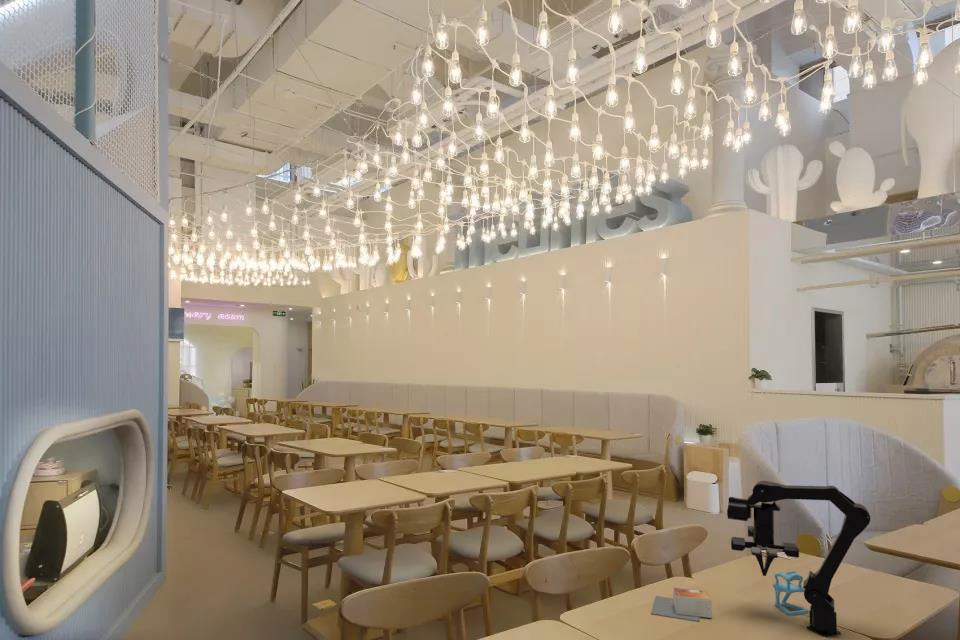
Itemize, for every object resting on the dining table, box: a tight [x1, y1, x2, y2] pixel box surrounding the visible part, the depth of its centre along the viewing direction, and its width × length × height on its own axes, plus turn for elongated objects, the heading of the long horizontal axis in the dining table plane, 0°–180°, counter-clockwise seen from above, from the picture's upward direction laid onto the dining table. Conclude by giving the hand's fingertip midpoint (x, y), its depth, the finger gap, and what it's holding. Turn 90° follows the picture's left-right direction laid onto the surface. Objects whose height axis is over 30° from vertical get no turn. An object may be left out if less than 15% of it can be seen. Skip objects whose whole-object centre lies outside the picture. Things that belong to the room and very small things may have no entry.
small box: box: [672, 587, 713, 619], centre depth 193 cm, size 8×6×10 cm
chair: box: [772, 570, 809, 616], centre depth 198 cm, size 8×8×12 cm
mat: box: [650, 595, 701, 623], centre depth 196 cm, size 14×16×1 cm
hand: (764, 575), depth 190 cm, fingers closed
